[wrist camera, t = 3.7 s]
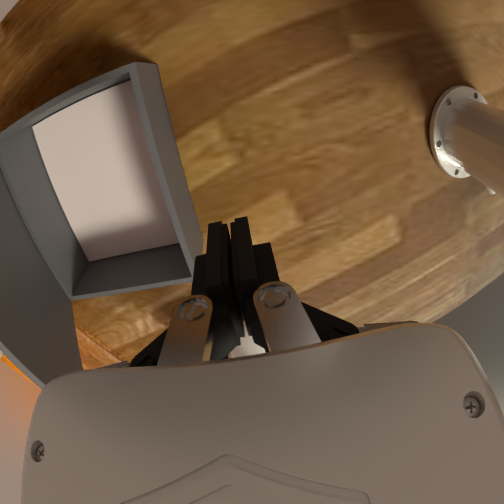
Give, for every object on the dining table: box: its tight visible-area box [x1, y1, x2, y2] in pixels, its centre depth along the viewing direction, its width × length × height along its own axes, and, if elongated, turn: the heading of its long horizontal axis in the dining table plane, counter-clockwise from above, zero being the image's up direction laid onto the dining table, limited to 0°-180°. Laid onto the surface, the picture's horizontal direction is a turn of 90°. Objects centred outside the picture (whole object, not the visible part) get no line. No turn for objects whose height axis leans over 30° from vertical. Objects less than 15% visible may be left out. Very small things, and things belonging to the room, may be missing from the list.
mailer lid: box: [0, 167, 83, 389], centre depth 15 cm, size 17×20×1 cm
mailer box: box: [0, 62, 203, 301], centre depth 24 cm, size 16×20×7 cm
